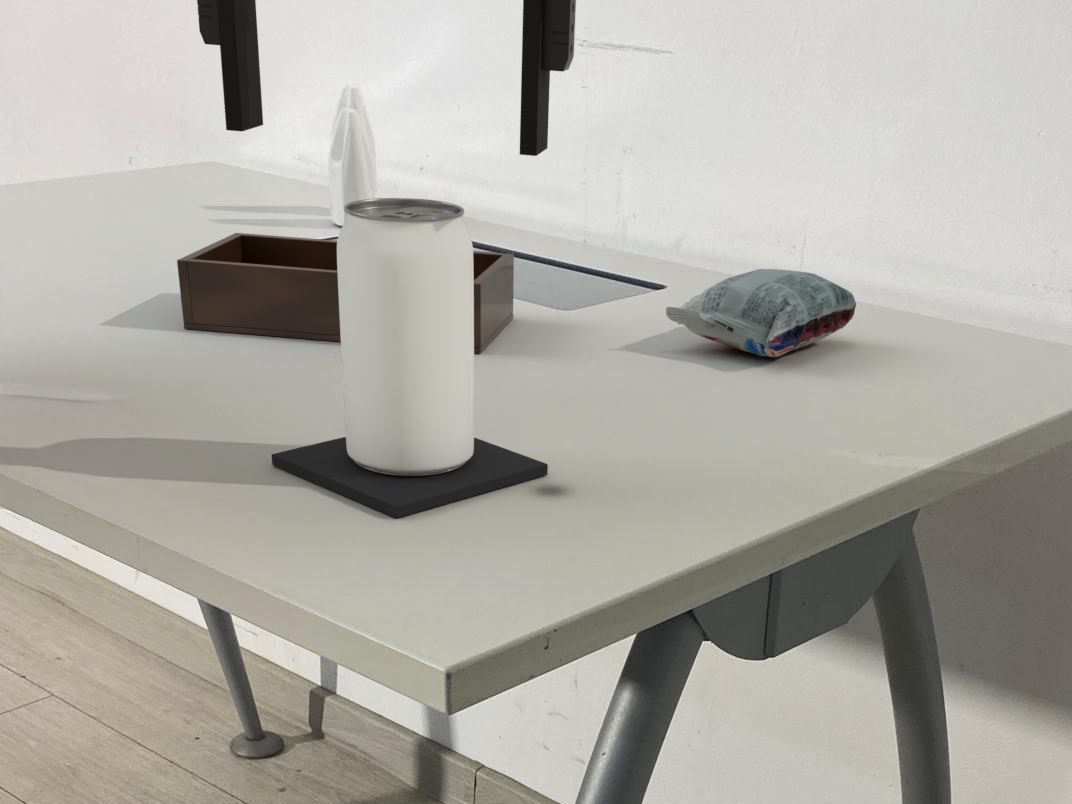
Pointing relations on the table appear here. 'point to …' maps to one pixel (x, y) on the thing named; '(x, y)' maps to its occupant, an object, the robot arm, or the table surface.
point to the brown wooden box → (305, 288)
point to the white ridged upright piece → (351, 154)
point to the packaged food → (767, 311)
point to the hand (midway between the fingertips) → (387, 140)
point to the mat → (408, 493)
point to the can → (407, 335)
